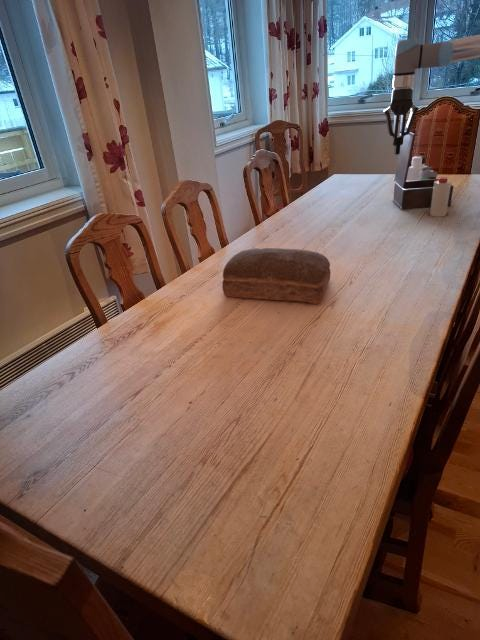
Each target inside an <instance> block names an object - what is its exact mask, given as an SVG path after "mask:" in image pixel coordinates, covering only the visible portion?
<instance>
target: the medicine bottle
mask: <svg viewBox="0 0 480 640" xmlns="http://www.w3.org/2000/svg"><path fill="white" fill-rule="evenodd" d="M425 167H429V166H428V165H426V157H425V155H415V156H412V157H411V166H409V170H408V175H407V180H406V181H414V180H421V175H420V171H421V169H422V168H425Z"/></svg>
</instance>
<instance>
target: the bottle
mask: <svg viewBox="0 0 480 640" xmlns="http://www.w3.org/2000/svg"><path fill="white" fill-rule="evenodd" d="M437 179H438V181H435V182H434V187H433V194H432V201H431V208H429V215H430V216H432V217H445V216H447V212H448V207H447V206H448V200H449V194H450V187H451V185H452V181H451V180H449V177H447V176H439V177H438V178H437Z"/></svg>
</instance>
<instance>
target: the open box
mask: <svg viewBox="0 0 480 640" xmlns="http://www.w3.org/2000/svg"><path fill="white" fill-rule="evenodd" d="M438 179H439V178H436V179H428V180H414V181H406V185H405V189H403V188H402V187H401V186H399V185H398V184H397V183H396V182H395V181H394V189H393V199H392V201H393V202H394V204H395V205H396V206H397V207H398V208H399V209H400V210H401V211H405V210H419V209H420V210H421V209H430V208H431V201H432V194H433V187H434V182H435V181H438ZM453 192H454V185H452V184H451V187H450V194H449V200H448V206H447V208H448V207H451V206H452V205H451V204H452V199H453Z"/></svg>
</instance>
